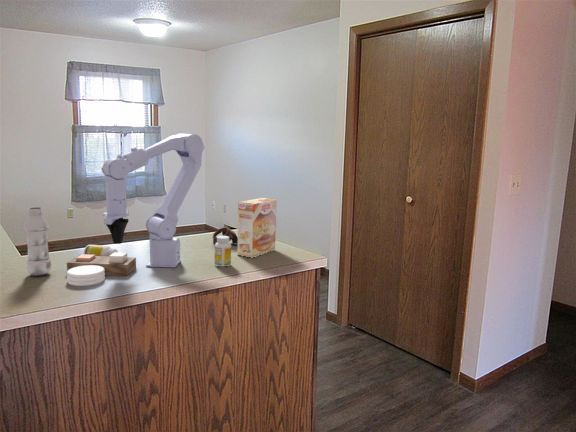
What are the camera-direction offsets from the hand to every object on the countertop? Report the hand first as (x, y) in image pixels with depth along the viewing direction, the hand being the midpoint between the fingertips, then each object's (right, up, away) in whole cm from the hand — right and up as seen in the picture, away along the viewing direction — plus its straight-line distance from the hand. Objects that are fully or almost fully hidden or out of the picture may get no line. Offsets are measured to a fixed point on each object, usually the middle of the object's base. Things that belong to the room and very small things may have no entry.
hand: (117, 243), depth 141 cm
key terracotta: (-10, -7, +1) cm, 13 cm away
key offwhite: (0, -6, +1) cm, 7 cm away
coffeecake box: (+40, -5, +29) cm, 50 cm away
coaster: (-6, -11, -7) cm, 15 cm away
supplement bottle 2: (+30, -8, +12) cm, 34 cm away
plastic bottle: (-22, -9, -4) cm, 24 cm away
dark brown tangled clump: (+28, -3, +38) cm, 47 cm away
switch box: (-5, -9, +2) cm, 10 cm away
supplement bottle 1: (-14, -4, +12) cm, 19 cm away
